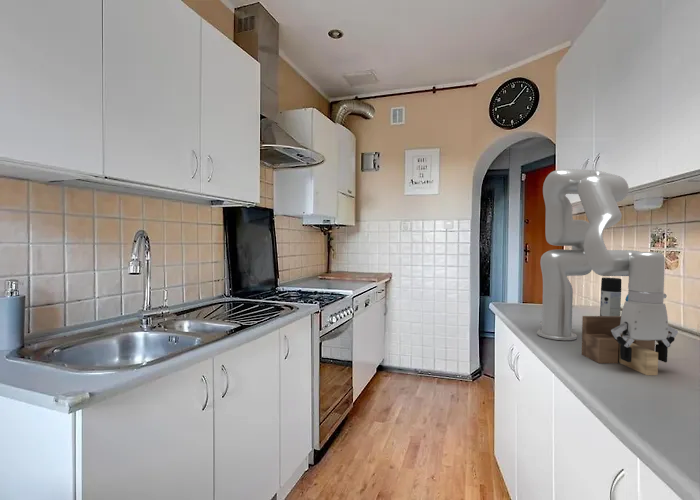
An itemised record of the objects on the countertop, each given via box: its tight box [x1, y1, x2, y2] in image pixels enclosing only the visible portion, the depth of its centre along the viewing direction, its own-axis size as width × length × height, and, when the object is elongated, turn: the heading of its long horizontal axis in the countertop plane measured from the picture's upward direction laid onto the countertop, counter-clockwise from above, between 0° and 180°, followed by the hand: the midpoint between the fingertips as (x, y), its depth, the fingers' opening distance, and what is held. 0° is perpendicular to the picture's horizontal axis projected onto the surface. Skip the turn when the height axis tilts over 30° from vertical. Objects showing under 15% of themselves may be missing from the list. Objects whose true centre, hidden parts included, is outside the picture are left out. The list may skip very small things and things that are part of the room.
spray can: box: [599, 277, 623, 316], centre depth 148 cm, size 7×7×20 cm
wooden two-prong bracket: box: [581, 315, 656, 364], centre depth 111 cm, size 8×16×12 cm, turn 90°
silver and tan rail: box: [618, 343, 659, 376], centre depth 105 cm, size 14×3×6 cm, turn 0°
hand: (643, 360), depth 101 cm, fingers open, 9 cm apart
